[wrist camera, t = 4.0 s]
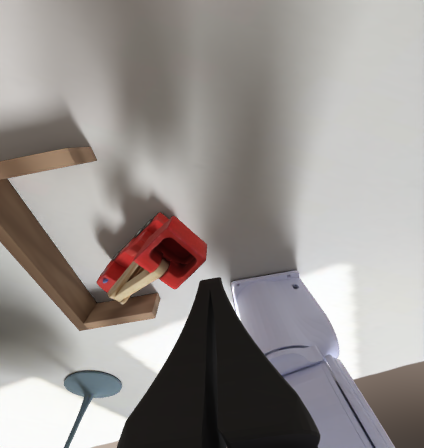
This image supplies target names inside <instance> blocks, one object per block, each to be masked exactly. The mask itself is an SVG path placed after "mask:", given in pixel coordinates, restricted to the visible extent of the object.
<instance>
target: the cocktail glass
mask: <svg viewBox="0 0 424 448" xmlns="http://www.w3.org/2000/svg"><path fill="white" fill-rule="evenodd" d="M64 386H65V387H66V389H67V390H69V391H70V392H72V393H74V394H77V395H80V396H84V400H83V403H82V406H81V409H80V411H79V414H78V416H77V419H76V421H75V424H74V426H73V428H72V431H71V433H70V435H69V437H68V440H67V442H66V444H65V447H64V448H69V446H70V443H71V441H72V439H73V437H74V434H75V432H76V430H77V428H78V425H79V423H80V421H81V419H82V417H83V415H84V413H85V411H86V409H87V407H88V405H89V403H90V402H91V400H92V398H102V397H109V396H112V395H115V394H117V393H118V392H119V391H120V390H121V388H122V384H121V382H120V380H119V379H117V378H116V377H114V376H112V375H110V374H107V373H103V372H97V371H83V372H77V373H74V374H71V375H70V376H68V377H67V378H66V379H65V381H64Z"/></svg>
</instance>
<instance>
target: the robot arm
mask: <svg viewBox="0 0 424 448" xmlns="http://www.w3.org/2000/svg"><path fill="white" fill-rule="evenodd" d="M231 287H232V293H233V299H234V305H235V311H236V312H235V311H234V309H233V307H232V305H231V303H230V301H229V299H228V297H227V295H226V293H225V290H224V288H223V285H222V281H221V278H219V277H218V278H212V279H207V280H201V281H200V283H199V287H198V291H197V294H196V297H195V300H194V303H193V306H192V309H191V312H190V314H189V316H188V319H187V321H186V324H185V326H184V328H183V330H182V332H181V334H180V336H179V338H178V340H177V342H176V344H175V346H174V348H173V350H172V352H171V353H170V355H169V357H168V359H167V361H166V362H165V364H164V366H163V367H162V369H161V370H160V372H159V374H158V375H157V377H156V378H155V380H154V381H153V383H152V385H151V386H150V388H149V389H148V391H147V392H146V394H145V395H144V396H143V398H142V399H141V401H140V402H139V404H138V405H137V406H136V408H135V409H134V411H133V412H132V413H131V415H130V416H129V418H128V419H127V421H126V423H125V426H124V428H123V431H122V434H121V437H120V440H119V442H118V446H117V448H395V446H394V445H393V443H392V442H391V440H390V438H389V437H388V435H387V433H386V432H385V430H384V429H383V427H382V425H381V424H380V422H379V421H378V419H377V417H376V416H375V414H374V413H373V411H372V409H371V408H370V406H369V405H368V403H367V401H366V400H365V398H364V397H363V395H362V393H361V392H360V390H359V389H358V387H357V386H356V384H355V382H354V381H353V379H352V378H351V376H350V375H349V373H348V372H347V370H346V368H345V367H344V365H343V364H342V362H341V361H340V360H338V359H337V358H338V356H339V344H338V340H337V337H336V334H335V332H334V329H333V327H332V325H331V323H330V321H329V319H328V318H327V316H326V314H325V313H324V311H323V310H322V309H321V307H320V306H319V304H318V303H317V302H316V300H315V299H314V298H313V296H312V295H311V293H310V292H309V291H308V289H307V288H306V286H305V285H304V284H303V282H302V281H301V279H300V278H299V272H298V271H289V272H284V273H278V274H272V275H266V276H260V277H255V278H249V279H243V280H237V281H233V282H232V283H231ZM240 319H241V321H240ZM327 363H328V364H329V365H328V364H327ZM329 366H330V367H329ZM330 368H331V369H330Z"/></svg>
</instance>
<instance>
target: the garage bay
mask: <svg viewBox="0 0 424 448" xmlns="http://www.w3.org/2000/svg"><path fill="white" fill-rule="evenodd" d="M92 161H97V159H96V157H95V155H94V153H93V151H92V149H91V147H77V148H64V149H59V150H54V151H49V152H44V153H39V154H34V155H29V156H24V157H19V158H14V159H9V160H4V161H0V242H1V243H2V244H3V245H4V246H5V247H6V249H7V250H8V251H9V252H10V253H11V254H12V255H13V256H14V258H15V259H16V260H17V261H18V262H19V263H20V264H21V266H22V267H23V268H24V269H25V270H26V271H27V272H28V273H29V275H30V276H31V277H32V278H33V279H34V280H35V281H36V282H37V284H38V285H39V286H40V287H41V288H42V289H43V290H44V291H45V293H46V294H47V295H48V296H49V297H50V298H51V299H52V300H53V302H54V303H55V304H56V305H57V306H58V307H59V308H60V309H61V311H62V312H63V313H64V314H65V315H66V316H67V317H68V318H69V320H70V321H71V322H72V323H73V324H74V325H75V326H76V327H77V329H78V330H79V331H81V330H87V329H93V328H99V327H105V326H111V325H117V324H123V323H129V322H135V321H141V320H147V319H153V318H155V317H156V313H157V309H158V305H159V302H160V297H159V295H158V293H154V294H148V295H142V296H137V297H131V298H129V299H128V300H127V301H126V303H124V304H121V303H120V302H118V301H117V300H113V301H108V302H102V303H96V302H95V300H94V299H93V297H92V296H91V295H90V293H89V292H88V290H87V289H86V288H85V286H84V285H83V284H82V282H81V281H80V279H79V278H78V277H77V275H76V274H75V272H74V271H73V270H72V268H71V267H70V266H69V264H68V263H67V261H66V260H65V259H64V257H63V256H62V254H61V253H60V252H59V250H58V249H57V248H56V246H55V245H54V243H53V242H52V241H51V239H50V238H49V236H48V235H47V234H46V232H45V231H44V230H43V228H42V227H41V225H40V224H39V223H38V221H37V220H36V218H35V217H34V216H33V214H32V213H31V212H30V210H29V209H28V207H27V206H26V205H25V203H24V202H23V200H22V199H21V198H20V196H19V195H18V193H17V192H16V191H15V189H14V188H13V187H12V185H11V184H10V182H9V181H8V180H7V178H11V177H16V176H21V175H27V174H32V173H37V172H42V171H47V170H52V169H57V168H62V167H67V166H72V165H77V164H82V163H87V162H92Z"/></svg>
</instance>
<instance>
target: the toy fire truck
mask: <svg viewBox="0 0 424 448" xmlns="http://www.w3.org/2000/svg"><path fill="white" fill-rule="evenodd" d="M206 253H207V244H206V243H205V242H204V241H202V240H201V239H200V238H199V237H198V236H197V235H195V234H194V233H193V232H192V231H191V230H190V229H189V228H188V227H186V226H185V225H184V224H183V223H182V222H181V221H180V220H179V219H178V218H176V217H175V216H172V217H171V218H170V219H168V218H167V217H166V216H164V215H163V214H162V213H161V212H160V213H158V214H157V215H156V216H155V217H154V219H151V220H150V221H149V222H148V223H147V224H146V226H145V227H144V229H143V228H142V229H141V230H140V231H139V232H138V233H137V234H136V235H135V237H134V238H133V239H132V240H131V241H130V242H129V243H128V244H127V245H126V246H125V247H124V248H123V249H122V250H121V252H118V253H117V254H116V255H115V257H114V258H113V259H112V260H111V262H110V263H109V264H108V265H107V267H106V268H105V270H104V271H103V273H102V274H101V275H100V277H99V279H98V280H97V284H98V285H99V286H100V287H101V288H102V289H103V290H104V291H106V292H107V293H108V297H110V298H112V299H115V300H117V301H118V302H120V303H121V304H124V303H126V301H127V300H128V299H129V297H130V296H131V295H132V294H133V293H135V292H137V291H138V290H140V289H141V288H143V287H145V286H146V285H148V284H149V283H151V282H153V281H154V280H156V279H158V278H159V279H160V280H161V281H162V282H164V283H165V284H167V285H168V286H170V287H171V288H173V289H177V288H178V287H179V286H180V285H181V284H182V283H183V282H184V281H185V280H187V279H188V278H189V277H190V276H191V275H192V274H193V273H194V272H195V271H196V270H197V269H198V268H199V267H200V266H201V265H202V264H203V263H204V262H205V261H206Z"/></svg>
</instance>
